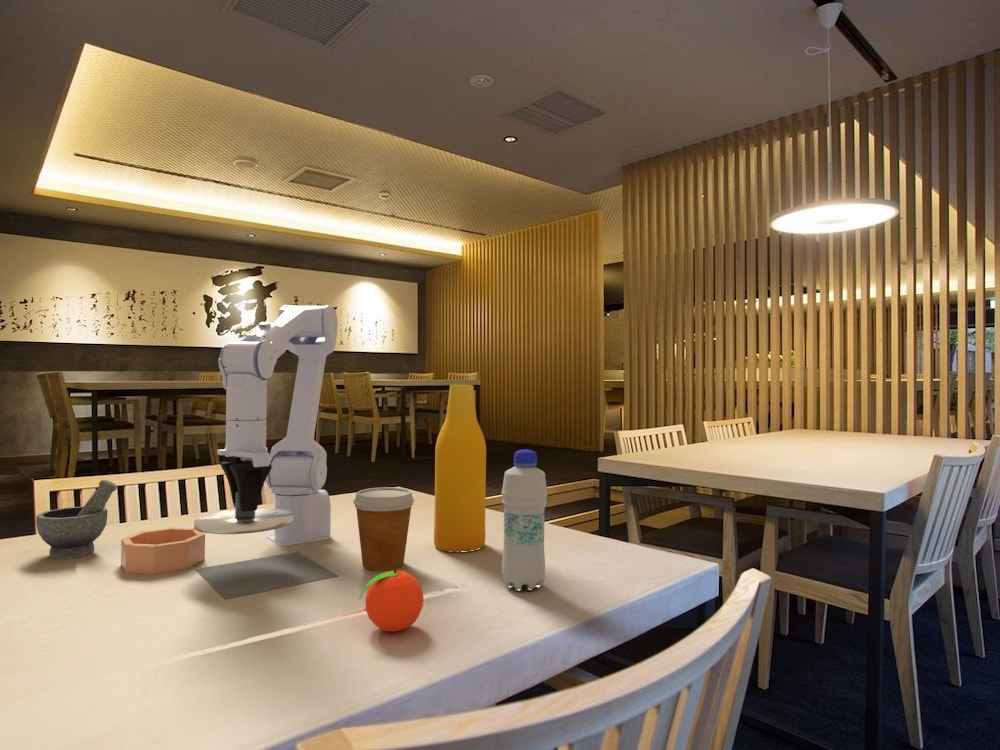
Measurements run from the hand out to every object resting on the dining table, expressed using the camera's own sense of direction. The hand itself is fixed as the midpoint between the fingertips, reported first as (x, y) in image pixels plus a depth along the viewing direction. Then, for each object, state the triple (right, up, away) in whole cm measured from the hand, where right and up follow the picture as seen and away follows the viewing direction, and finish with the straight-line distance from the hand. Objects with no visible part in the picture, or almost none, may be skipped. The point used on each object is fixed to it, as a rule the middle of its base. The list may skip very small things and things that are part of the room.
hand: (245, 508), depth 94 cm
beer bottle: (+32, -11, +17) cm, 37 cm away
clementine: (+26, -10, -20) cm, 34 cm away
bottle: (+42, -11, -4) cm, 44 cm away
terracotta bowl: (-14, -10, +4) cm, 18 cm away
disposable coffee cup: (+20, -10, +4) cm, 23 cm away
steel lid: (0, -2, 0) cm, 2 cm away
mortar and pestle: (-32, -10, +10) cm, 35 cm away
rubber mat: (+4, -10, -1) cm, 11 cm away
